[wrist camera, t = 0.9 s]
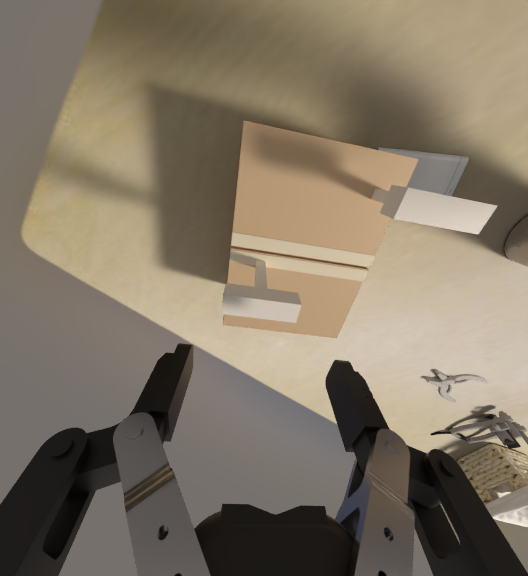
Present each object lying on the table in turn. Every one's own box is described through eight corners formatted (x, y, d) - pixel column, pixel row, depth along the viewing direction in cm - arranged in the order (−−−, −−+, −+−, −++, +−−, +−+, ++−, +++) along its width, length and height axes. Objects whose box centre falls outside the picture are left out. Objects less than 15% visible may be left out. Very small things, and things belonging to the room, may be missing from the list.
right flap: (366, 267, 25) (416, 315, 17) (335, 335, 30) (362, 395, 23) (231, 246, 23) (218, 288, 16) (223, 322, 29) (210, 382, 21)
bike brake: (501, 405, 57) (426, 425, 67) (525, 434, 52) (439, 451, 62) (520, 420, 62) (447, 437, 72) (543, 449, 57) (460, 463, 67)
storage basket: (449, 460, 75) (488, 520, 62) (492, 438, 68) (546, 502, 55) (491, 472, 81) (534, 529, 69) (534, 453, 74) (592, 513, 61)
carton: (371, 160, 29) (531, 156, 12) (321, 298, 39) (367, 397, 23) (247, 134, 27) (231, 85, 10) (230, 285, 38) (209, 383, 21)
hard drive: (359, 214, 31) (440, 221, 32) (379, 146, 27) (472, 156, 28) (354, 211, 32) (432, 218, 33) (373, 147, 28) (461, 156, 29)
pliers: (456, 405, 56) (416, 389, 52) (451, 400, 57) (412, 384, 53) (492, 384, 52) (451, 365, 48) (486, 378, 53) (446, 359, 49)
